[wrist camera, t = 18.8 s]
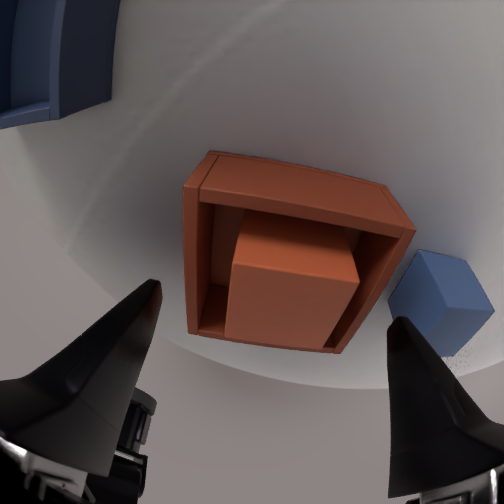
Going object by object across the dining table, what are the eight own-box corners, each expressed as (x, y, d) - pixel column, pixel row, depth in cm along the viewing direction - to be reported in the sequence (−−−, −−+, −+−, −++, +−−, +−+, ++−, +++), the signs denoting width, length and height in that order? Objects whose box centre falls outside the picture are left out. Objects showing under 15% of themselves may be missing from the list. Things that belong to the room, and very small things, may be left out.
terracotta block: (236, 270, 14) (223, 337, 10) (246, 198, 11) (232, 262, 8) (315, 282, 14) (321, 350, 10) (340, 215, 11) (361, 282, 8)
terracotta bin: (202, 283, 15) (187, 333, 12) (209, 150, 10) (182, 185, 8) (333, 303, 15) (340, 354, 12) (386, 185, 10) (417, 229, 8)
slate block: (387, 301, 15) (402, 358, 12) (418, 248, 12) (448, 307, 9) (434, 306, 15) (453, 356, 12) (466, 260, 12) (495, 311, 9)
